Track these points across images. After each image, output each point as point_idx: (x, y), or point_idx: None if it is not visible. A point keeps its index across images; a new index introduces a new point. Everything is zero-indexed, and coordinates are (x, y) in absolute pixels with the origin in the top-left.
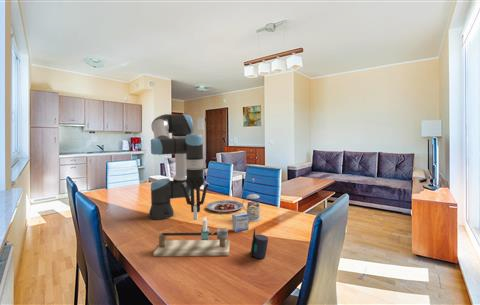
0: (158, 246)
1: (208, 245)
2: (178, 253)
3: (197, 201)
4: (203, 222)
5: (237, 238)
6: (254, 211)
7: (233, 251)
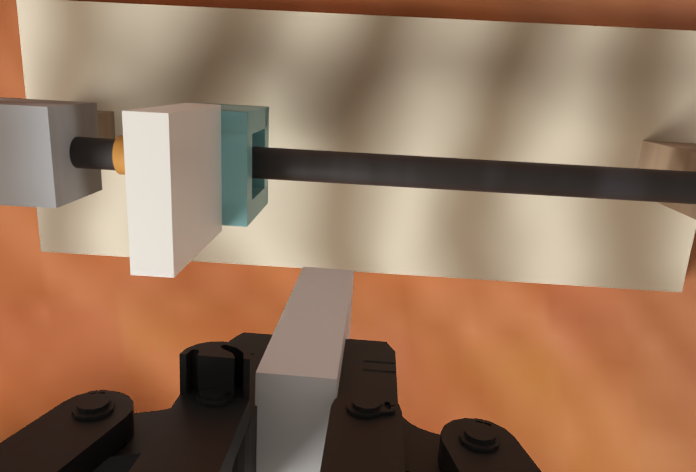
0: None
1: None
2: (489, 21)
3: (197, 445)
4: (169, 111)
5: (3, 322)
6: None
7: (4, 77)
